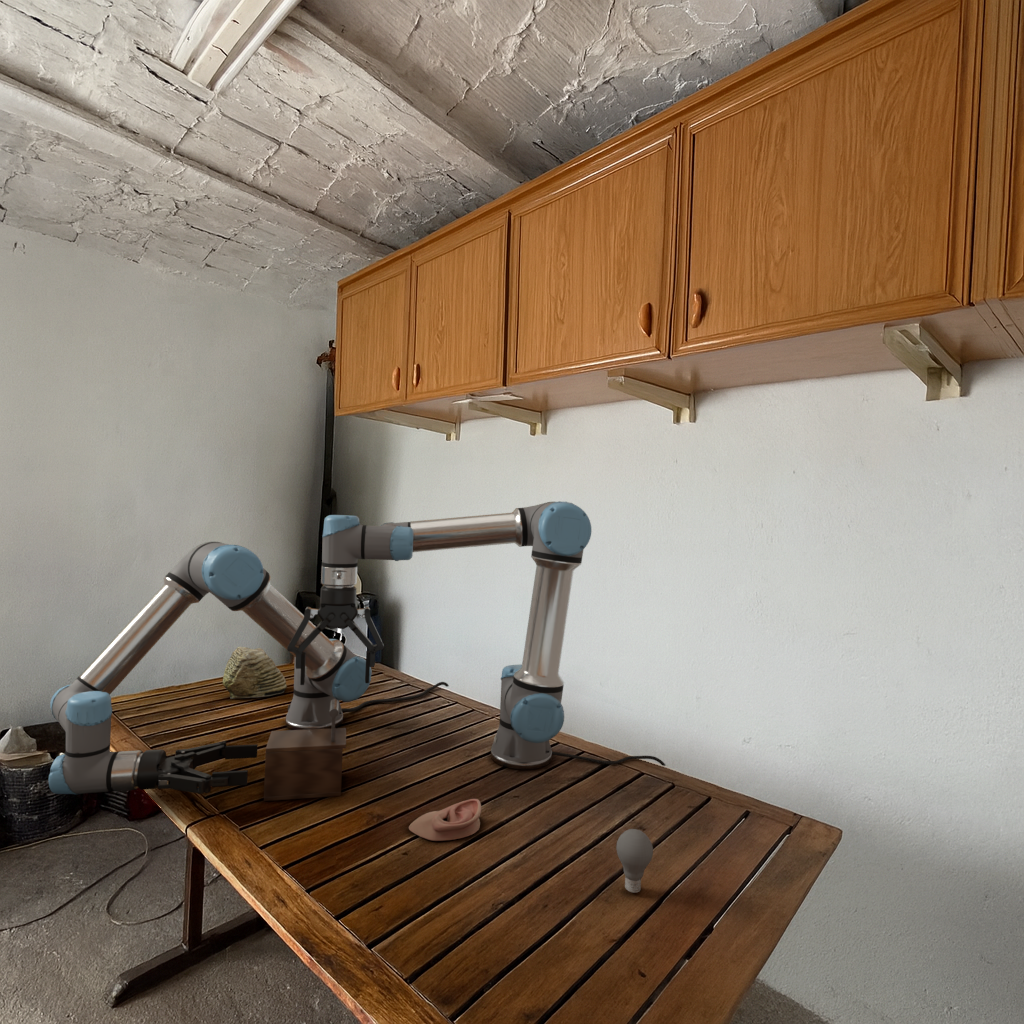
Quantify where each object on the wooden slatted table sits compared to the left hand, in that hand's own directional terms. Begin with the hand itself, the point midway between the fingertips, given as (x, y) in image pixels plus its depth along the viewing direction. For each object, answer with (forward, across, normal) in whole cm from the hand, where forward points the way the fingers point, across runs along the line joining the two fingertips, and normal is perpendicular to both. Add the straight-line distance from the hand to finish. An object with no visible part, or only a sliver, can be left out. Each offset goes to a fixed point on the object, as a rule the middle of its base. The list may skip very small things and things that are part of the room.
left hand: (252, 763), depth 134 cm
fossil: (-9, -68, -6) cm, 69 cm away
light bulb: (+66, +46, -6) cm, 81 cm away
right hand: (+16, 0, +17) cm, 23 cm away
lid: (+11, 0, +4) cm, 12 cm away
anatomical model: (+38, +21, -6) cm, 44 cm away
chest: (+11, 0, -6) cm, 12 cm away
